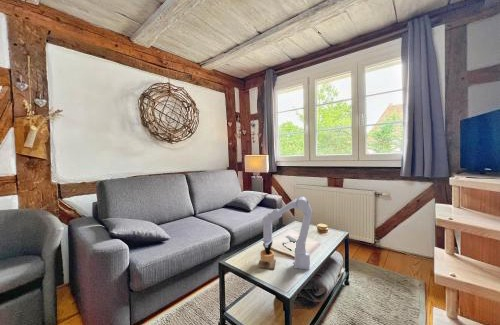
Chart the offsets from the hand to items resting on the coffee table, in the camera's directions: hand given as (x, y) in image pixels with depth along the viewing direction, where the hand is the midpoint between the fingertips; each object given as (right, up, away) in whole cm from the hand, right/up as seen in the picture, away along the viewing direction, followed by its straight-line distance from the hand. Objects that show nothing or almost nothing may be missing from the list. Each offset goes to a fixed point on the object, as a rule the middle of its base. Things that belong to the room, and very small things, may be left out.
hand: (268, 253), depth 140 cm
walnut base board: (-1, -6, -3) cm, 7 cm away
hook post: (-1, -5, -3) cm, 6 cm away
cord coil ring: (-1, -2, -3) cm, 4 cm away
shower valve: (+21, -5, +23) cm, 31 cm away
